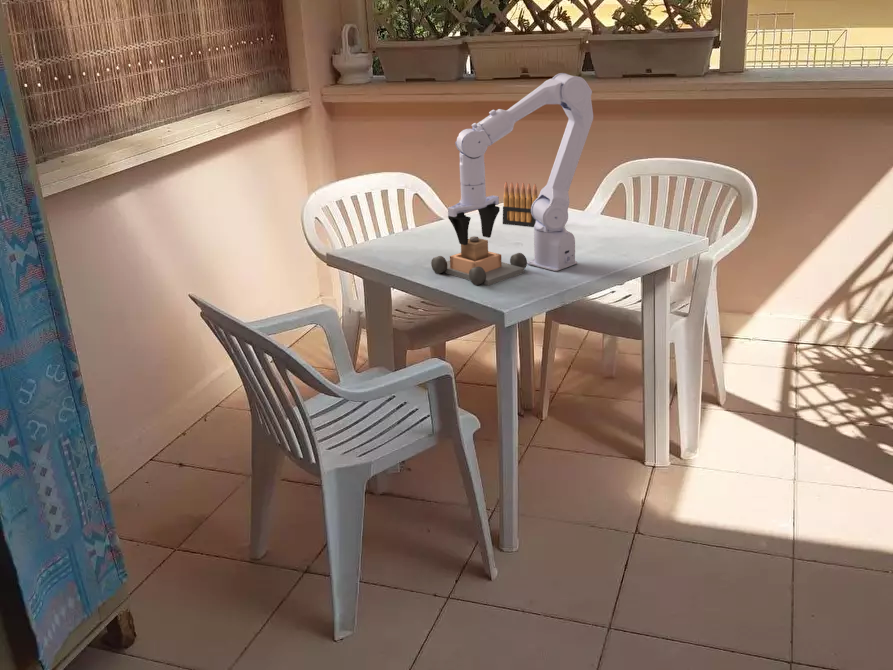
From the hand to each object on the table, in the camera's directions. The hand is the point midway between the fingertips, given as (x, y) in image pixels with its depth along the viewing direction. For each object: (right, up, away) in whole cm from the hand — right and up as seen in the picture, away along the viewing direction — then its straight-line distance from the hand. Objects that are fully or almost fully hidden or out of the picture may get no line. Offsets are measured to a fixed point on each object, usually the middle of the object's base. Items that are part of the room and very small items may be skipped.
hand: (475, 240), depth 207 cm
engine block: (0, -6, +3) cm, 7 cm away
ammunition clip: (+14, +9, +41) cm, 44 cm away
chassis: (+1, -7, +3) cm, 8 cm away
